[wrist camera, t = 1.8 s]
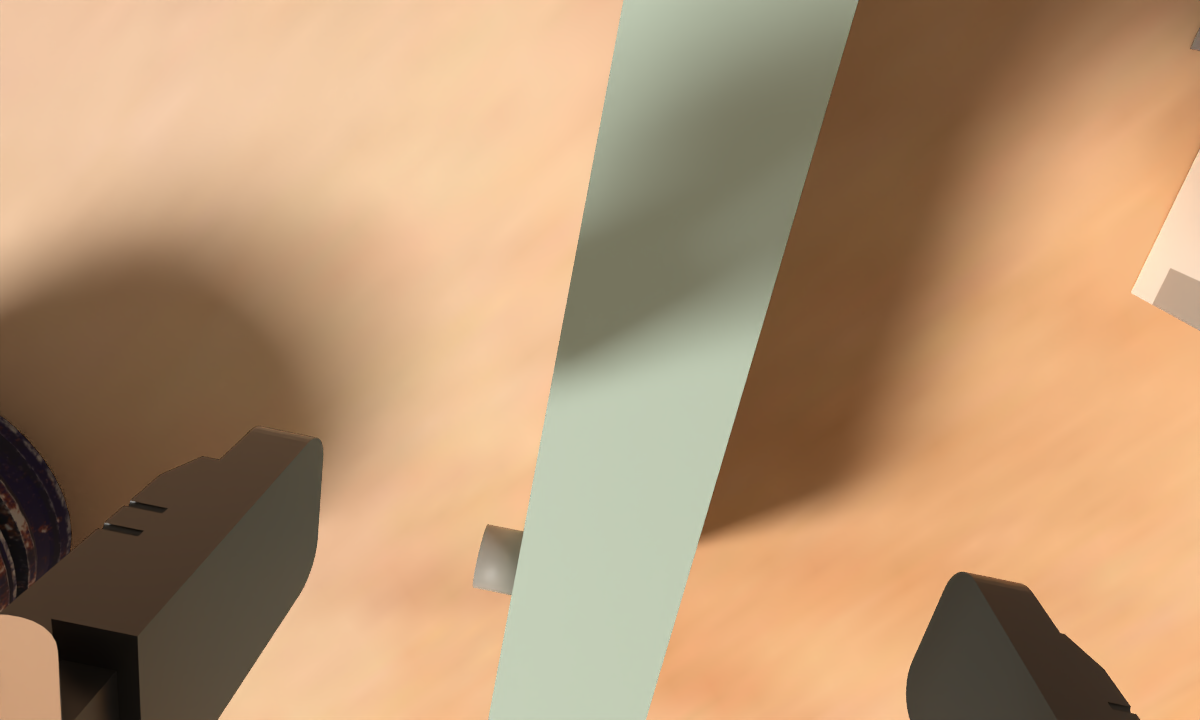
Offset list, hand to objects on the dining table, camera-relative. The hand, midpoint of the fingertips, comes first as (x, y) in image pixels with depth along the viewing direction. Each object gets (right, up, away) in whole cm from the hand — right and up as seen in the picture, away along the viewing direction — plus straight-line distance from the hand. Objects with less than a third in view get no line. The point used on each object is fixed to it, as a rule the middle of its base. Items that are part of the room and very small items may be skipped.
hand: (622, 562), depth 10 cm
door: (+1, +5, +12) cm, 13 cm away
